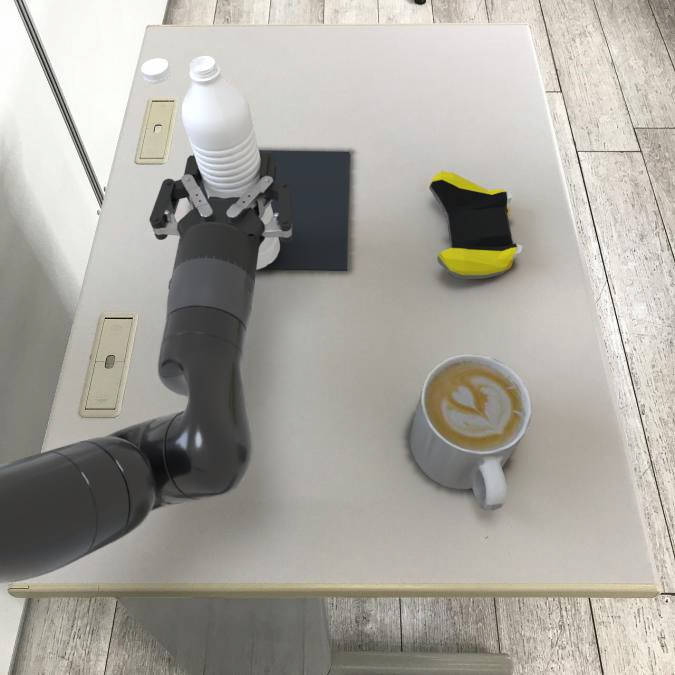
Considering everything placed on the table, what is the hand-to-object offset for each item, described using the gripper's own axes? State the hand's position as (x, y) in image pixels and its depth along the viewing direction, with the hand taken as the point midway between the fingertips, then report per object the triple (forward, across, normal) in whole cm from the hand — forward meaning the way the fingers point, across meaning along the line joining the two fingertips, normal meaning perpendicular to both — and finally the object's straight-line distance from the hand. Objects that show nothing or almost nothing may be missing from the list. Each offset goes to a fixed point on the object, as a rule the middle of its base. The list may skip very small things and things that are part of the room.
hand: (233, 157), depth 67 cm
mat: (+6, +2, -14) cm, 16 cm away
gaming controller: (+1, +27, -14) cm, 31 cm away
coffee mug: (-27, +24, -15) cm, 39 cm away
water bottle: (-2, 0, -13) cm, 13 cm away
